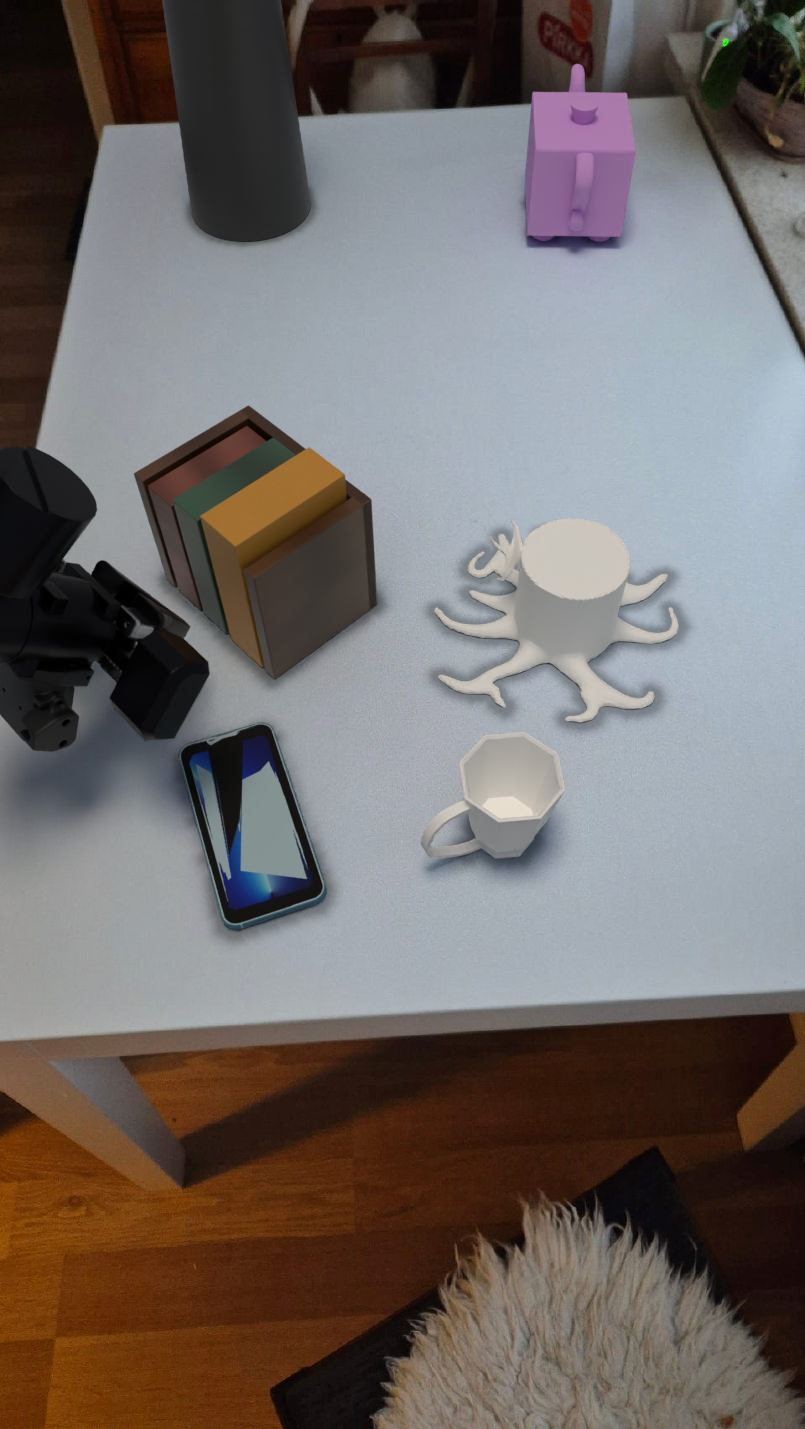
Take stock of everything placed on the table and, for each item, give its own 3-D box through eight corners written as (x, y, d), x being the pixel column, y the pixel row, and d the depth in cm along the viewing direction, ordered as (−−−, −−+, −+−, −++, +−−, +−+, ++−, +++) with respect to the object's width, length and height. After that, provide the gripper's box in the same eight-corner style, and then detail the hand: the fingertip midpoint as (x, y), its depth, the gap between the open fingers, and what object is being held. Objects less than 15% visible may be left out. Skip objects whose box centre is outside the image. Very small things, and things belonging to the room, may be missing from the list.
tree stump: (521, 505, 89) (529, 433, 83) (722, 601, 83) (749, 532, 76) (389, 654, 80) (386, 587, 74) (602, 774, 74) (621, 714, 67)
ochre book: (262, 668, 80) (234, 546, 68) (231, 639, 82) (199, 515, 70) (355, 600, 84) (345, 474, 72) (324, 574, 85) (309, 446, 74)
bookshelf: (274, 679, 79) (251, 569, 68) (166, 579, 85) (129, 463, 74) (377, 604, 83) (371, 488, 72) (267, 513, 89) (246, 394, 78)
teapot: (620, 264, 109) (641, 145, 99) (526, 262, 109) (537, 144, 99) (607, 165, 120) (626, 49, 110) (522, 164, 120) (532, 48, 110)
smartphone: (224, 930, 67) (174, 747, 75) (226, 935, 68) (177, 753, 75) (330, 895, 68) (271, 718, 76) (331, 900, 69) (272, 725, 77)
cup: (572, 849, 71) (588, 794, 64) (448, 913, 68) (451, 862, 62) (519, 773, 74) (529, 713, 68) (399, 831, 72) (397, 775, 65)
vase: (208, 172, 120) (155, -131, 96) (320, 179, 119) (295, -126, 95) (178, 237, 113) (113, -73, 89) (297, 245, 112) (264, -67, 88)
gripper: (-120, 636, 67) (69, 646, 80) (33, 818, 59) (213, 795, 72) (-59, 489, 63) (128, 525, 76) (112, 663, 55) (286, 669, 69)
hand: (184, 629), depth 74 cm, fingers closed
